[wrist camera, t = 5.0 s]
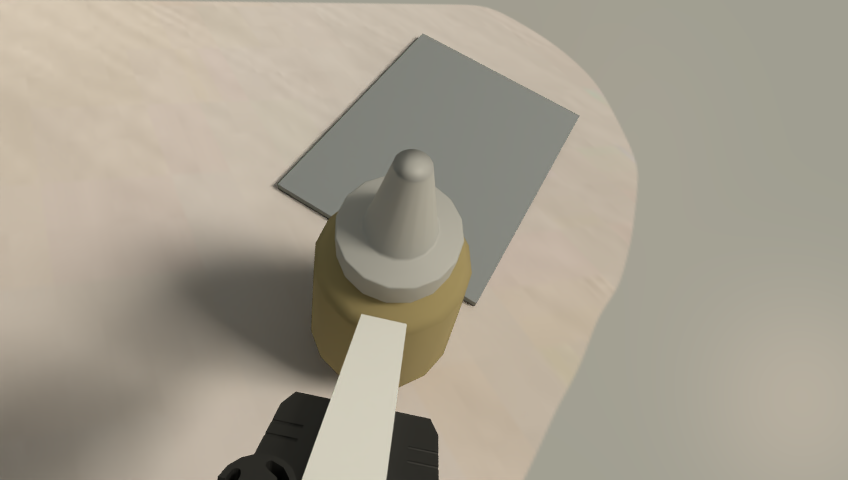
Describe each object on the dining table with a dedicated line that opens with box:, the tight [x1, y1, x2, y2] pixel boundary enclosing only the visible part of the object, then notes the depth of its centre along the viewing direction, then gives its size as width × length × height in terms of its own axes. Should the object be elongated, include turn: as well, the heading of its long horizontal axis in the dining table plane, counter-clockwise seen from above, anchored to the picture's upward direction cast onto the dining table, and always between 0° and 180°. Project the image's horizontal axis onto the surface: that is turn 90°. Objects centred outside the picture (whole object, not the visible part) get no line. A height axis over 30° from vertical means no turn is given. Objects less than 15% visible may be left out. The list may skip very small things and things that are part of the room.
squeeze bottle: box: [311, 149, 472, 388], centre depth 20 cm, size 8×8×18 cm
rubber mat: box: [278, 34, 579, 306], centre depth 35 cm, size 16×21×1 cm
